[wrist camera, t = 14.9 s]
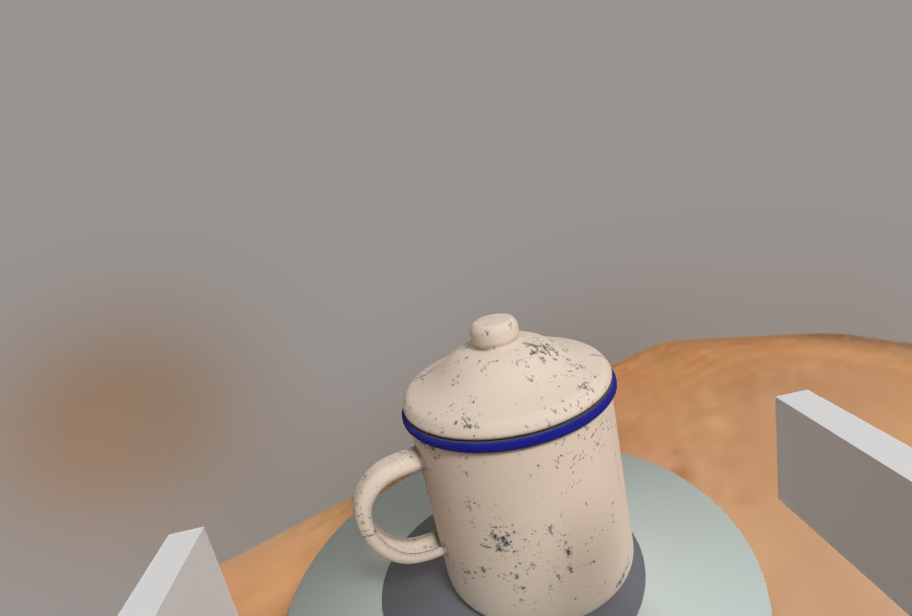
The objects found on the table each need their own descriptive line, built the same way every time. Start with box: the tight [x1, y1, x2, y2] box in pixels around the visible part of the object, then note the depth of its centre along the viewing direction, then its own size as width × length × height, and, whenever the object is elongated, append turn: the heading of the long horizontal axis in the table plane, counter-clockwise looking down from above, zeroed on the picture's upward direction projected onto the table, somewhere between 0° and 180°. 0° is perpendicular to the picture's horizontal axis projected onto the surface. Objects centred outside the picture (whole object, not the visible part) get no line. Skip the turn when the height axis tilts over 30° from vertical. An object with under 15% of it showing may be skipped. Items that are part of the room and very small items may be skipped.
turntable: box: [287, 452, 772, 616], centre depth 25 cm, size 21×21×2 cm
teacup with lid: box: [353, 314, 634, 616], centre depth 23 cm, size 12×9×12 cm
